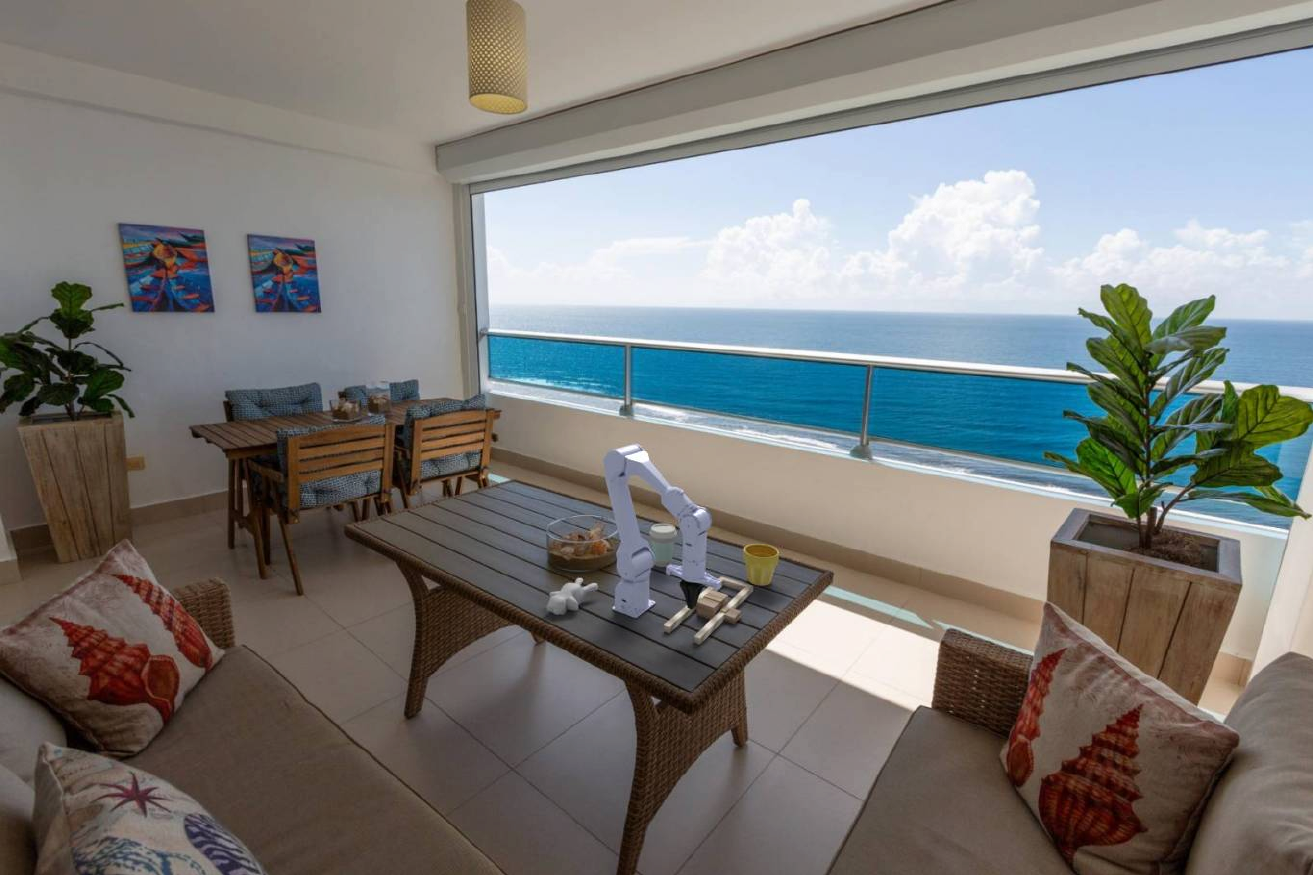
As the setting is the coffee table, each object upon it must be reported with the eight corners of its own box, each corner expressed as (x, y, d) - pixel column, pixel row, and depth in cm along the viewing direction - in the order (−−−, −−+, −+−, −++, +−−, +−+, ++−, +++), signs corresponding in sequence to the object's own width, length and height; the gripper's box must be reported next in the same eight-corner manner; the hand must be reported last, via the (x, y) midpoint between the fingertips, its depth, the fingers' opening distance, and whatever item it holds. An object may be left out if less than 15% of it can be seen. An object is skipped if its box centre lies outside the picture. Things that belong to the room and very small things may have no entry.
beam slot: (710, 649, 132) (711, 641, 131) (663, 631, 139) (664, 623, 138) (762, 594, 158) (762, 587, 157) (720, 581, 165) (721, 575, 164)
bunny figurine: (537, 597, 146) (575, 570, 158) (539, 613, 148) (576, 585, 160) (564, 608, 141) (601, 579, 153) (566, 625, 143) (602, 594, 155)
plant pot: (752, 569, 173) (754, 540, 171) (783, 579, 166) (785, 549, 164) (735, 581, 165) (737, 550, 163) (766, 592, 159) (768, 561, 156)
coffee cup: (678, 559, 179) (679, 524, 176) (672, 571, 171) (673, 534, 168) (653, 555, 181) (653, 521, 178) (645, 567, 173) (646, 531, 170)
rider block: (713, 621, 144) (714, 607, 143) (696, 615, 146) (697, 601, 146) (727, 608, 150) (728, 594, 149) (710, 603, 153) (711, 589, 152)
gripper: (728, 559, 135) (724, 609, 138) (677, 544, 143) (675, 592, 146) (714, 569, 129) (711, 622, 132) (662, 553, 137) (660, 603, 140)
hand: (691, 607), depth 139 cm, fingers closed
